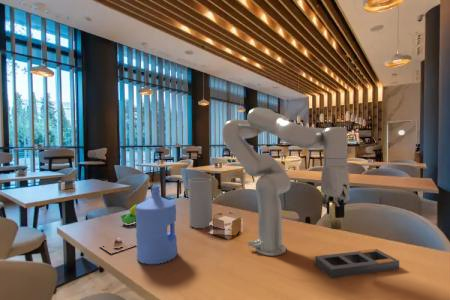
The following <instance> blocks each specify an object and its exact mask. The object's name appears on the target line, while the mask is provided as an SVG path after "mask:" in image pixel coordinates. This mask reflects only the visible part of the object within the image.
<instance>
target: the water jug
mask: <svg viewBox="0 0 450 300" xmlns="http://www.w3.org/2000/svg"><path fill="white" fill-rule="evenodd" d="M160 192H161V190H160V186H159V185H155V186H151V197H149V198H148V199H147V198H146V200H144V201H142V202H140V203H138V205H137V206H136V224H135V226H136V230H135V231H136V232H135V234H136V235H135V238H136V244H137V246H136V259H137V261H138V262H139V263H141V262H142V263H141V264H144V263H145V264H144V265H160V263H161V264H165V263H167V261H168V262H169V261H171V259H172V260H173V259H174V258H175V257H176V256H177V254H178V246H177V245H178V244H177V243H178V242H177V240H178V239H177V235H176V232H175V230H176V228H175V227H176V225H175V222H176V221H177V207H176V206H177V204H176V203H175V202H174V201H173V200H170V199H167V198H165V197H161V195H160V194H161V193H160ZM168 227H170V229H169V230H170V231H169V232H168ZM164 262H165V263H164Z"/></svg>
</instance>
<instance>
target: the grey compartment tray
mask: <svg viewBox="0 0 450 300" xmlns="http://www.w3.org/2000/svg"><path fill="white" fill-rule="evenodd" d="M314 265H315V266H316V267H317V268H318V269H320V271H322V272H324V274H326V275H327V276H328V277H329V278H330V279H332V280H333V279H339V278H347V277H353V276H362V275H368V274H369V275H370V274H375V273H382V272H388V271H389V272H390V271H391V272H392V271H397V270H400V260H399V259H396V258H395V257H393V256H391V255H389V254H387V253H385V252H383V251H381V250H379V249H377V248H375V249H373V248H372V249H371V248H370V249H364V250H358V251H350V252H341V253H334V254H332V253H331V254H324V255H317V256H314Z"/></svg>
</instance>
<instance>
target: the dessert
mask: <svg viewBox="0 0 450 300" xmlns="http://www.w3.org/2000/svg"><path fill="white" fill-rule="evenodd" d="M113 242H114V244H113V245H112V247H113V246H114V247H119V246H122V245H124V241H123V242H122V239H121V237H119V236H118V238H116V239H115V240H114V241H113Z"/></svg>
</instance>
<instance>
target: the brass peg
mask: <svg viewBox="0 0 450 300" xmlns="http://www.w3.org/2000/svg"><path fill="white" fill-rule="evenodd" d="M335 206H336V199H335V200H332V201H329V214H328V215H329V216H328V218H329V220H328V223H329V224H328V225H329V226H328V227H329V229H331V230H342V228H343V227H342V226H343V224H342V223H343V218H335Z"/></svg>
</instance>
